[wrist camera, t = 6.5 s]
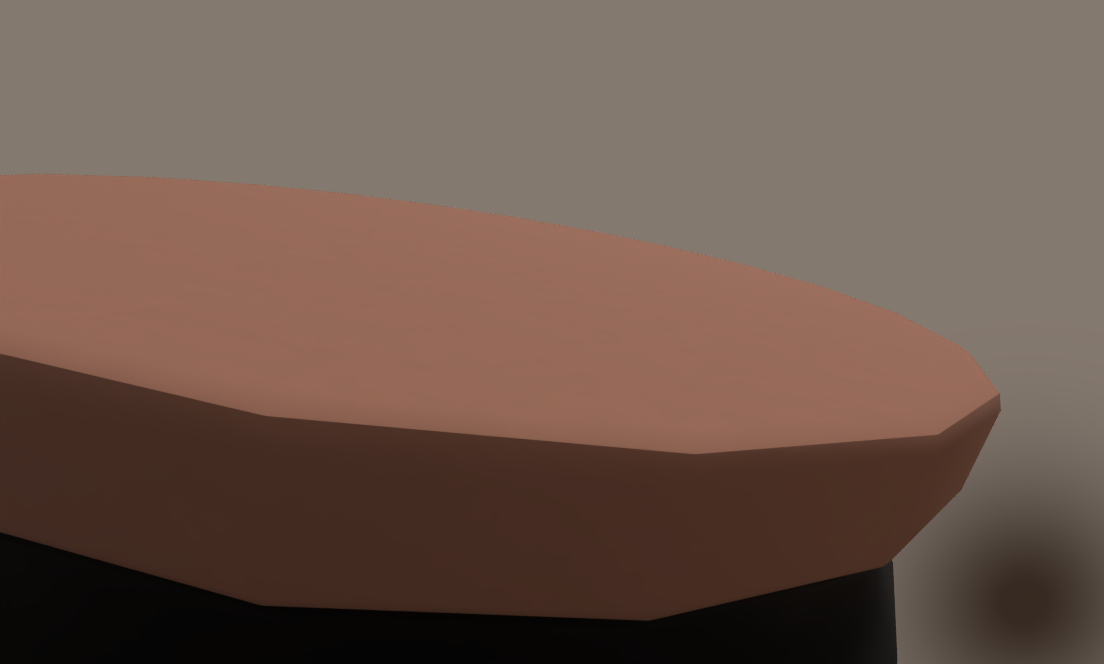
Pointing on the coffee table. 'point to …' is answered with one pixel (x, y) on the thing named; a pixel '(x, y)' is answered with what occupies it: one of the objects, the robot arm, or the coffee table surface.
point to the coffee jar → (444, 438)
